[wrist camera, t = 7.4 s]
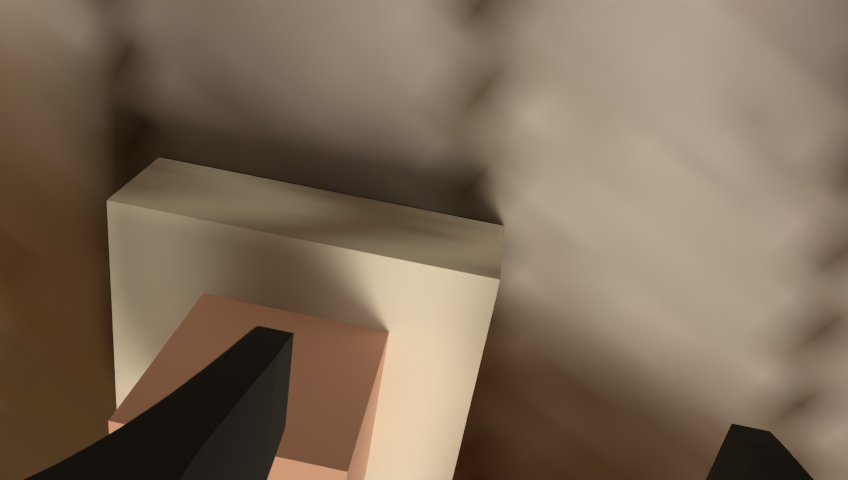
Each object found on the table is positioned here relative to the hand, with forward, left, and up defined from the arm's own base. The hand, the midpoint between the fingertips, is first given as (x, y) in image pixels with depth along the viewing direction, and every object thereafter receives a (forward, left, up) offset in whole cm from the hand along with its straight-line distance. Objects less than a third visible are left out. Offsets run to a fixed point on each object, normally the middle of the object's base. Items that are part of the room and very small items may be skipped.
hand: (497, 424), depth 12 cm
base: (+5, +6, -9) cm, 12 cm away
